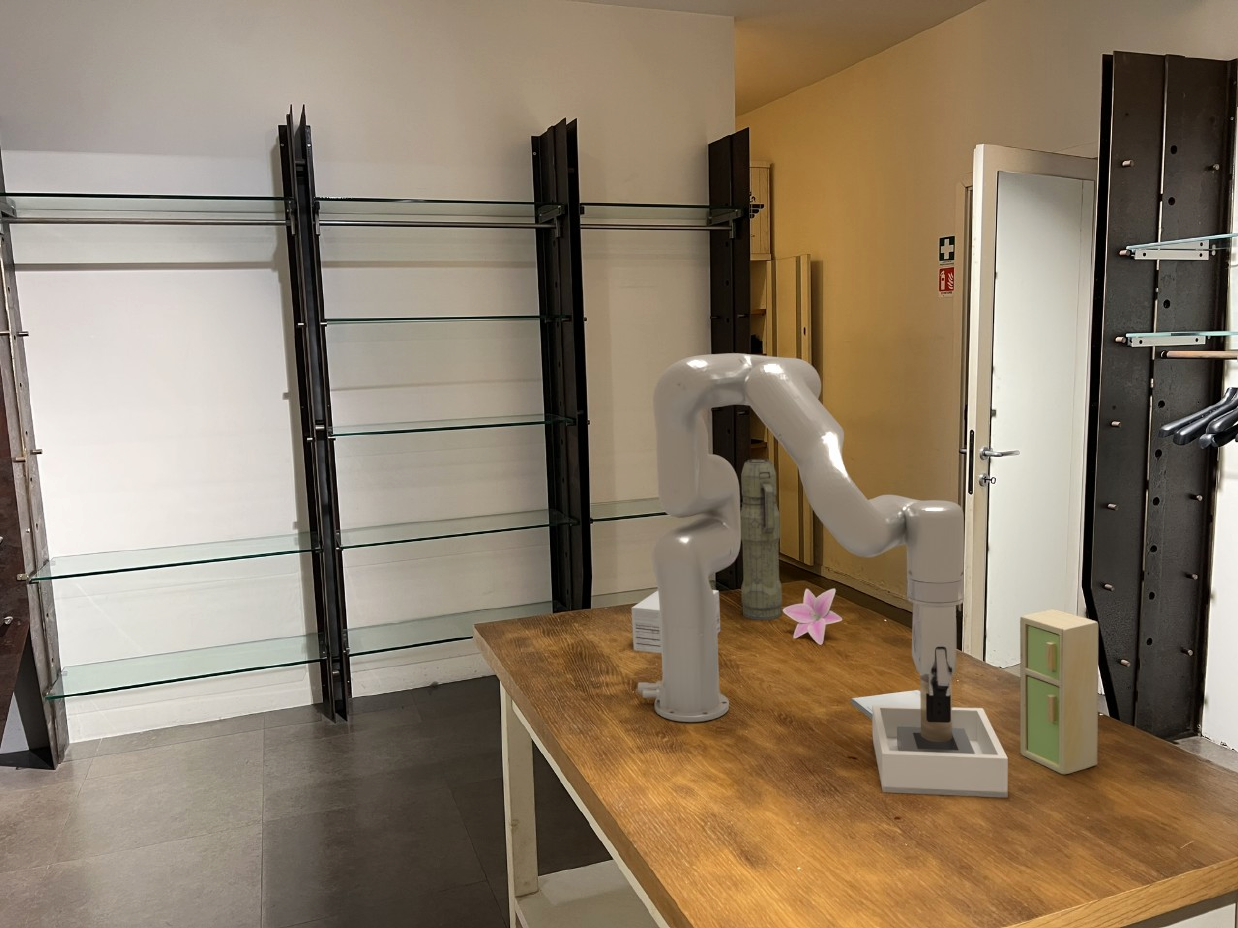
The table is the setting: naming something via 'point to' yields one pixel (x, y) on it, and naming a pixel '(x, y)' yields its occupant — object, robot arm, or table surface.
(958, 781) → the walled box
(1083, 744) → the toy refrigerator
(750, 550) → the thermos
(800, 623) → the lily
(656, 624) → the supplement box
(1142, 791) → the table surface
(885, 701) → the hard drive
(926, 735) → the peg
